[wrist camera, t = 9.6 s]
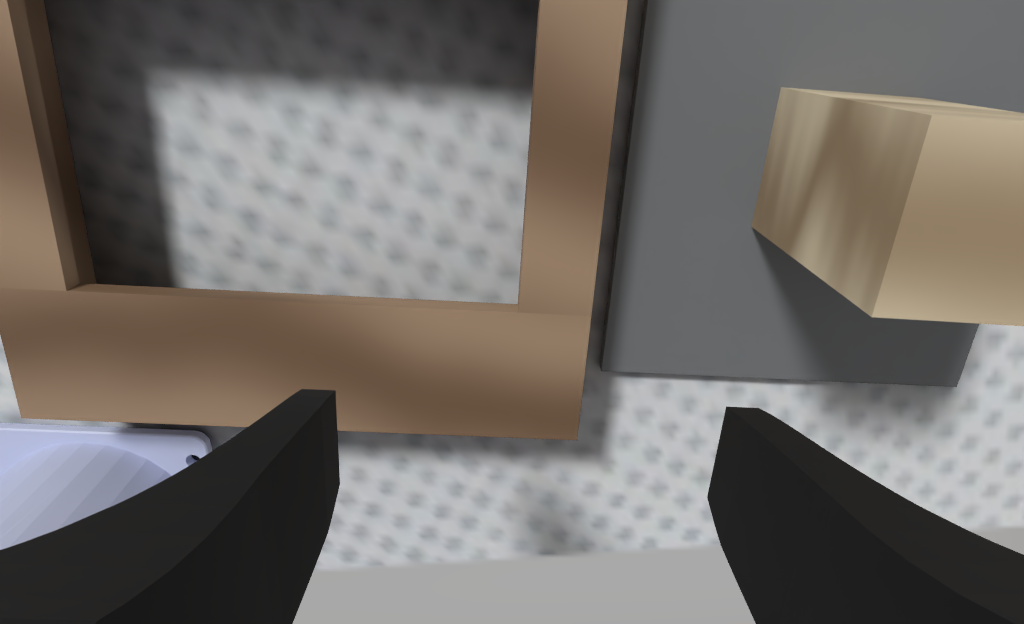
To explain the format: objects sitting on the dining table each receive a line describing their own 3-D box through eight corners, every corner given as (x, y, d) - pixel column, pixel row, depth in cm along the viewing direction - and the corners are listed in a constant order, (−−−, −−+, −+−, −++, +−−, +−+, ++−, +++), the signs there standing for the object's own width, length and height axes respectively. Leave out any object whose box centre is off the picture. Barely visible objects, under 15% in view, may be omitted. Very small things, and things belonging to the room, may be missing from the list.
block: (880, 235, 20) (1058, 327, 14) (751, 226, 20) (871, 317, 14) (919, 97, 19) (1141, 130, 12) (780, 87, 19) (931, 115, 12)
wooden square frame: (567, 390, 23) (577, 440, 20) (81, 370, 22) (21, 418, 19) (626, -178, 17) (653, -221, 14) (-43, -232, 16) (-157, -288, 13)
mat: (949, 381, 23) (956, 386, 22) (599, 365, 22) (601, 370, 22) (1114, -93, 18) (1127, -95, 17) (660, -128, 17) (664, -131, 17)
